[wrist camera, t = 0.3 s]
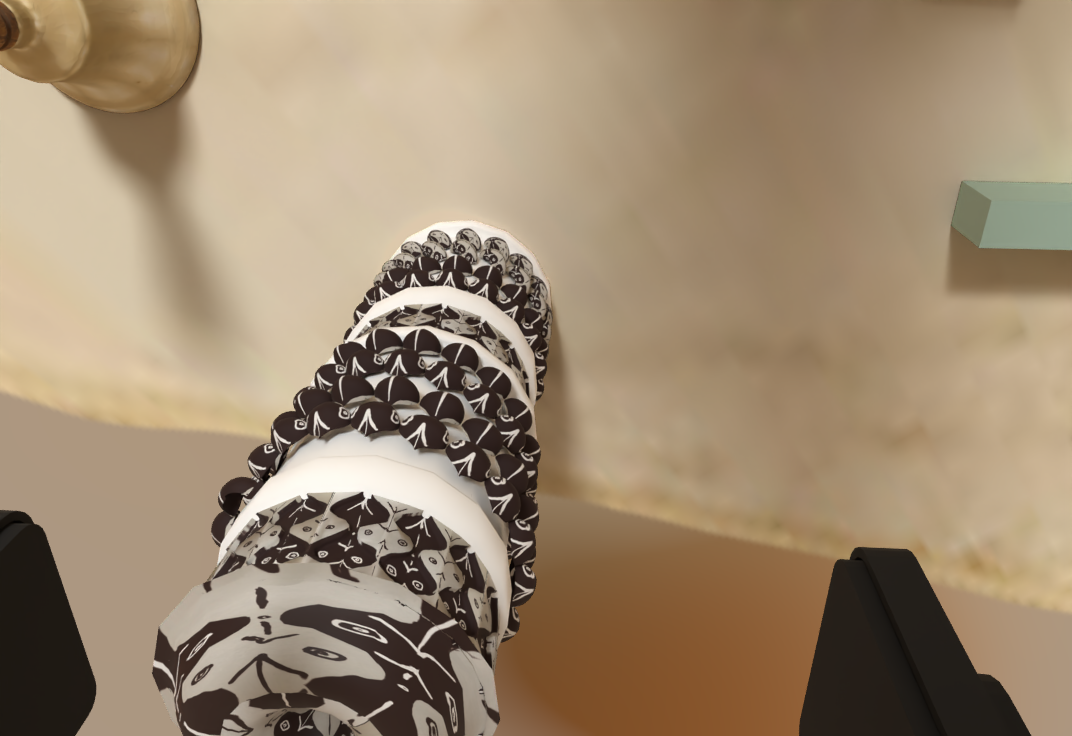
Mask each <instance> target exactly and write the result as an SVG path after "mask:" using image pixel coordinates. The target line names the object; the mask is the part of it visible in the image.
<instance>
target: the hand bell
mask: <svg viewBox="0 0 1072 736" xmlns="http://www.w3.org/2000/svg"><path fill="white" fill-rule="evenodd" d="M198 43H199V18H198V12H197V6H196V2H195V0H0V64H1V65H2V66H3V67H4V68H6V69H7V70H9V71H10V72H12V73H13V74H15V75H17V76H19V77H22V78H25V79H28V80H31V81H34V82H37V83H51V84H52V85H54V86H55V87H56V88H57V89H59V90H60V91H62V92H63V93H65V94H67V95H68V96H70V97H72V98H73V99H75V100H77V101H79V102H81V103H83V104H85V105H88V106H90V107H93V108H96V109H100V110H103V111H108V112H116V113H132V112H140V111H144V110H148V109H151V108H153V107H156V106H158V105H160V104H162V103H163V102H165V101H166V100H168V99H169V98H171V97H172V96H173V95H174V94H175V93H176V92H177V91H178V90H179V89H180V88H181V87H182V86H183V84H184V83H185V81H186V80H187V78H188V76H189V74H190V72H191V70H192V68H193V65H194V63H195V60H196V55H197V51H198Z"/></svg>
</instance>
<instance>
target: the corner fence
mask: <svg viewBox="0 0 1072 736" xmlns="http://www.w3.org/2000/svg"><path fill="white" fill-rule="evenodd" d="M951 226H952V227H954V228H955V229H956V230H957V231H959V232H960V233H961V234H962V235H964V236H965V237H966V238H967V239H969V240H970V241H971V242H972V243H974V244H975V245H976V246H977V247H979V248H1004V249H1046V250H1072V183H1028V182H977V181H962V184H961V188H960V192H959V196H958V200H957V204H956V208H955V212H954V216H953V220H952V224H951Z"/></svg>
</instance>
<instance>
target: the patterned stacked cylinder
mask: <svg viewBox="0 0 1072 736" xmlns="http://www.w3.org/2000/svg"><path fill="white" fill-rule="evenodd" d="M552 319H553V316H552V308H551V295H550V283H549V281H548V279H547V277H546V275H545V274H544V272H543V270H542V268H541V266H540V264H539V262H538V260H537V259H536V257H535V255H534V253H533V252H531V251H530V250H529V249H528V248H527V247H525V246H524V245H523V244H522V243H520V242H519V241H518V240H517V239H516V238H514V237H513V236H512V235H511V234H510V233H508V232H507V231H505V230H502V229H499V228H496V227H493V226H490V225H487V224H484V223H481V222H478V221H474V220H465V221H448V222H437V223H435V224H433V225H431V226H429V227H427V228H425V229H423V230H421V231H419V232H417V233H415V234H413V235H411V236H409V237H408V238H407V239H406V240H405V241H404V243H403V244H402V245H401V246H400V247H399V249H398V250H397V251H396V252H395V254H394V255H393V256H392V257H391V258H390V260H389V261H387V262H386V263H385V264H384V265H383V267H382V272H381V273H379V274H378V275H377V276H376V277H375V279H374V287H373V288H371V289H370V290H369V291H368V292H367V293H366V294H365V297H364V302H362V303H361V304H359V305H358V306H357V308H356V309H355V312H354V326H352V327H350V328H349V329H348V330H347V331H346V333H345V336H344V344H341V345H339V346H337V347H336V348H335V349H334V354H333V355H332V357H331V358H330V359H329V360H328V361H327V363H326V364H325V365H323V366H321V367H320V368H319V369H318V370H317V372H316V373H315V377H314V378H313V380H312V381H311V385H310V386H309V387H306V388H303V389H302V390H300V391H299V392H298V393H297V394H296V396H295V397H294V400H293V405H294V408H295V410H296V412H295V411H289V412H285V413H282V414H281V415H279V416H278V417H277V418H276V419H275V420H274V422H273V424H272V427H271V443H268V444H263V445H261V446H259V447H257V448H256V449H255V450H254V451H253V452H252V453H251V454H250V456H249V458H248V466H249V469H250V471H251V473H252V474H253V475H254V476H253V477H252V478H247V477H239V478H235V479H232V480H230V481H229V482H227V483H226V485H224V486H223V487H222V489H221V491H220V493H219V496H218V502H219V505H220V507H221V508H222V509H223V512H221V513H219V514H218V515H217V517H216V518H215V519H214V521H213V524H212V528H211V533H212V538H213V540H214V541H215V543H216V544H217V545H218V546H219V547H220V552H219V558H218V563H217V567H216V568H215V570H214V571H213V572H212V574H211V575H210V577H209V579H208V580H207V581H206V582H205V583H203V584H200V585H198V586H195V587H193V588H192V590H190V592H189V593H188V594H187V595H186V596H185V597H184V598H183V600H182V601H181V602H180V603H179V604H178V605H177V606H176V608H175V609H174V610H173V611H172V612H171V613H170V614H169V615H168V617H167V618H166V619H165V620H164V621H163V622H162V623H161V625H160V626H159V629H158V636H157V643H156V651H155V658H154V665H153V672H152V674H153V677H154V679H155V682H156V684H157V686H158V689H159V691H160V694H161V696H162V698H163V701H164V703H165V706H166V708H167V711H168V713H169V716H170V718H171V720H172V722H174V724H175V725H176V726H177V727H179V729H180V730H181V732H182V734H183V736H493V734H494V732H495V730H496V728H497V725H498V723H499V720H500V717H499V710H498V703H497V696H496V689H495V683H494V674H495V666H496V659H497V649H498V647H499V645H500V643H502V642H505V641H507V640H509V639H510V638H512V637H513V636H514V635H515V634H516V633H517V631H518V630H519V625H520V619H519V615H518V612H517V610H516V609H515V607H517V606H520V605H523V604H524V603H526V602H527V601H528V600H529V599H530V598H531V596H532V595H533V593H534V591H535V587H536V576H535V574H534V572H533V571H532V570H531V569H530V568H531V567H532V565H533V563H534V561H535V557H536V548H535V546H536V540H535V534H534V531H535V529H536V528H537V525H538V521H539V512H538V507H537V505H538V504H537V500H536V499H535V497H534V495H535V493H536V490H537V477H538V469H537V464H538V462H539V460H540V456H541V451H540V446H539V444H538V442H537V435H536V424H535V413H534V406H535V401H537V400H538V399H539V398H540V397H541V396H542V394H543V391H544V382H543V380H542V379H543V377H544V376H545V374H546V371H547V364H546V359H547V357H548V353H549V345H548V343H549V341H550V338H551V324H552ZM293 444H294V445H293ZM291 445H293V447H292V449H291V450H290V452H289V454H288V455H287V453H288V450H289V447H290V446H291ZM286 456H287V457H286ZM269 473H271V474H272V476H271V477H270V476H269V475H268V474H269ZM242 498H243V501H244V503H245V504H246V506H245V507H244V509H243V510H242V511H241V512H240V511H238V509H239V507H240V504H241V500H242ZM511 558H512V560H511V564H510V567H509V563H508V560H509V559H511Z"/></svg>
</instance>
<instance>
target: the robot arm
mask: <svg viewBox="0 0 1072 736" xmlns="http://www.w3.org/2000/svg"><path fill="white" fill-rule="evenodd" d="M95 696H96V682H95V678H94V675H93V672H92V669H91V666H90V664H89V661H88V658H87V655H86V652H85V649H84V646H83V643H82V640H81V637H80V634H79V631H78V628H77V625H76V622H75V619H74V617H73V613H72V611H71V608H70V605H69V602H68V599H67V596H66V593H65V590H64V587H63V584H62V581H61V578H60V576H59V572H58V569H57V566H56V564H55V561H54V558H53V555H52V552H51V549H50V546H49V543H48V540H47V537H46V534H45V532H44V530H43V528H41V527H40V526H39V525H36V524H34V523H33V521H32V519H31V517H30V516H29V515H27V514H26V513H25V512H21V511H8V510H7V511H6V510H0V736H75V735H76V734H77V732H78V731H79V729H80V728H81V726H82V724H83V723H84V721H85V720H86V718H87V717H88V715H89V713H90V711H91V709H92V707H93V704H94V701H95ZM799 736H1031V734H1030V733H1029V731H1028V729H1027V727H1026V725H1025V724H1024V722H1023V720H1022V718H1021V716H1020V715H1019V713H1018V711H1017V709H1016V707H1015V706H1014V704H1013V702H1012V700H1011V698H1010V697H1009V695H1008V694H1007V692H1006V691H1005V689H1004V688H1003V686H1002V685H1001V684H1000V682H999V681H997V680H996V679H995V678H993V677H992V676H991V675H986V674H977V672H976V670H975V669H974V667H973V665H972V663H971V661H970V659H969V657H968V655H967V653H966V652H965V650H964V648H963V646H962V644H961V642H960V641H959V638H958V636H957V635H956V633H955V631H954V629H953V627H952V625H951V623H950V621H949V619H948V618H947V616H946V614H945V612H944V610H943V608H942V606H941V604H940V602H939V601H938V599H937V597H936V595H935V593H934V591H933V589H932V587H931V585H930V583H929V581H928V580H927V578H926V576H925V574H924V572H923V570H922V568H921V566H920V564H919V563H918V561H917V559H916V557H915V556H914V554H913V553H912V552H911V551H909V550H907V549H890V548H867V547H858V548H855V549H854V550H853V552H852V554H851V557H850V560H844V559H840V560H837V561H836V563H835V565H834V569H833V573H832V577H831V582H830V586H829V591H828V596H827V600H826V605H825V609H824V614H823V618H822V623H821V627H820V632H819V637H818V641H817V645H816V650H815V655H814V659H813V664H812V668H811V673H810V677H809V682H808V686H807V691H806V695H805V700H804V704H803V709H802V714H801V718H800V725H799Z"/></svg>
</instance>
